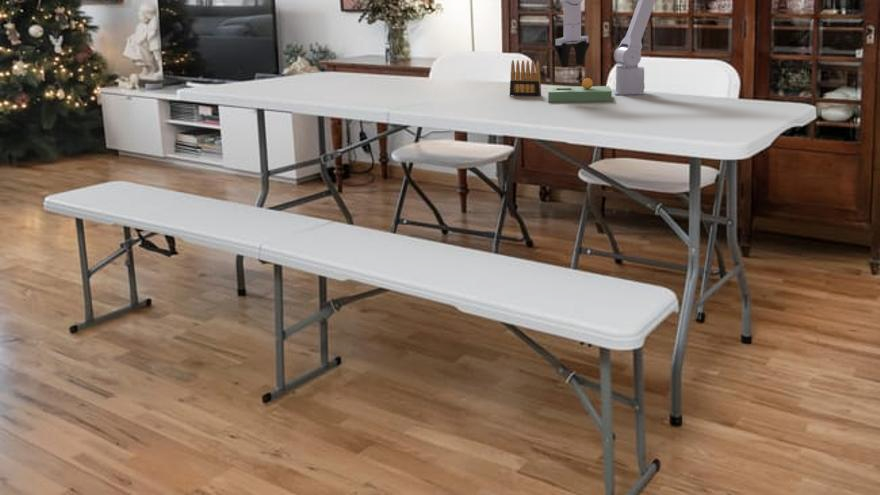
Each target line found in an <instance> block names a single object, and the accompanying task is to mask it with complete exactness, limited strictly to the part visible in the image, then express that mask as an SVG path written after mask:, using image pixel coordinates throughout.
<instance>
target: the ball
mask: <svg viewBox="0 0 880 495" xmlns="http://www.w3.org/2000/svg"><path fill="white" fill-rule="evenodd" d="M593 84H594V83H593V80H592V78H589V77H586V78H583V79H582V82H581V87H582V86H583V88H585V89H590V88H591V87H592V86H594V85H593Z"/></svg>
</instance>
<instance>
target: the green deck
mask: <svg viewBox="0 0 880 495" xmlns="http://www.w3.org/2000/svg"><path fill="white" fill-rule="evenodd" d="M547 91H548V94H547V95H548V103H598V102H599V103H607V102H608V103H610V102H611V103H612V97H613V95H612V89H611V87H610V86H609V85H598V86H597V85H595V86H594V85H592V87H591V88H590V89H585V88H583V86H582V85H581V86H548V90H547Z"/></svg>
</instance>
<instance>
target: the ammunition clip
mask: <svg viewBox="0 0 880 495" xmlns="http://www.w3.org/2000/svg"><path fill="white" fill-rule="evenodd" d="M515 64H516V66H515ZM540 68H541V67H540V61H539V60H538V59H537V60H536V64H535V62H534V60H533V59H532V61H531V64H530V61H529V60H526V65H525V61H524V59H523V60H522V61H521V65H520V60H519V59H517V60H516V63H515V61H514V59H512V60H511V65H510V81H509V96H510V95H514V96H515V97H541V96H542V86H541V85H542V84H541V69H540ZM514 96H513V97H514Z"/></svg>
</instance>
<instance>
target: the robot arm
mask: <svg viewBox="0 0 880 495" xmlns="http://www.w3.org/2000/svg"><path fill="white" fill-rule="evenodd" d="M561 1H562V2H563V12H562V13H563V16H562V17H563V21H562V23H563V25H562V26H563V37H559V38H555V44H554V49H555V51H556V53H557V55H558V58H559V61H560V66H561V68H568V66H569V61H570V60H569V59H570V57H569V56H570V52H571V48H572V46H573V48H574V53H575V64H576V65H577V66H583V63H584V59H585V56H586V53H587V52H588V50H589V47H590V42H589V35H582V2H583V1H584V0H561ZM655 3H656V0H638V1H637V4H636V7H635V9H634V13H633V15H632V19H631V20H630V24H629V26H628V30H627V31H626V35H625V36H624V37H623V39H621V41H620V44H619V46H617V48H616V49H615V50H614V53H613V59H614V61H615V62H616V65H615V66H616V68H615V70H616V71H615V90H613V93H614V95H618V96H619V95H620V96H621V95H624V96H625V95H644V94H645V67H644V66H639V63H640V62H641V60H642V49H643V43H642V39H643V37H644V34H645V31H646V28H647V25H648V22H649V20H650V17H651V14H652V11H653V9H654V6H655ZM570 44H572V46H571V45H570Z"/></svg>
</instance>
